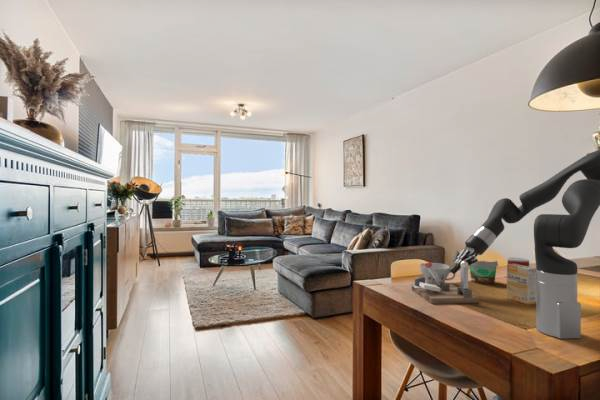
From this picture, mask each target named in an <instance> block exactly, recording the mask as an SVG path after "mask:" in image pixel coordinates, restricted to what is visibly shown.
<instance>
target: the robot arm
mask: <svg viewBox="0 0 600 400" xmlns="http://www.w3.org/2000/svg"><path fill="white" fill-rule="evenodd" d="M579 172H581V173H582V174H583V176H584V177H585V179H579V180H575V181H574V182H572V183H571V184H570V185H569V186H568V187H567V188H566V190H565V192H564V193H563V195H562V198H561V202H562V203H561V204H562V206H563V208H564V210H565V211H566V212H567V213H568V214H560V213H559V214H554V213H552V214H551V213H545V214H544V213H541V214H538V215H537V216H536V218H535V219H534V222H533V223H534V224H533V242H534V259H535V265H536V266H535V268H536V304H535V305H536V306H535V307H536V309H535V311H536V314H535V315H536V316H535V317H536V330H537V331H538V332H539V333H542V334H545V335H547V336H550V337H555V338H556V339H557V338H558V339H561V340H562V339H565V340H566V339H581V338H582V333H581V332H582V326H581V325H582V322H581V321H582V319H581V318H582V315H581V313H582V310H581V309H582V307H581V306H582V304H581V303H580V302H579V301H578V265H577V263H576V262H575V261H573V260H571V259H568V258H566V257H563V256H562V255H560V254H558V253H557V252H556V251H555V249H554V248H560V249H561V248H563V249H575V248H578V247H580V246H581V245H582V243H583V242H584V240H585V237H586V235H587V232H588V230H589V226H590V224H591V222H592V219H593V217H594V215H595V213H596V211H597V210H598V209H599V207H600V149H599V150H598V149H597V150H595V151H591V152H590V153H588V154H586V155H584V156H583V157H581V158H579V159H577V160H576V161H574V162H573V163H571V164H570V165H568V166H567V167H565V168H564V169H562V170H560V171H559V172H558V173H556V174H554V175H553V176H552V177H550V178H549V179H547V180H545V181H544V182H542V183H540V184H538V185H536V186H534V187H533V188H530V189H528V190H526V191H524V192H523V193H521V194H520V195H519V200H520V203H521V205H520V206H517V205H516V204H515V203H514V201H513V200H511V199H510V198H508V197H507V198H501V199H499V200H497V201H496V203H495V204H493V207H492V208H491V211H490V213H489V214H488V217H487V219H486V220H485V221H484V222H483V223H482V224H481V225H480V227H478V228H477V229H476V230H475V231H474V232H473V233H472V234H471V235H470V236H469V238H468V239H466V241H465V242H464V244H465V247H463V248H462V249H461V251H459V250H457V251H455V254H454V256H453V259H452V262H454V263H453V265H451V267H450V269H449V271H450V272H451V273H450V274H455V275H456V274H457V272H459V270H461V266H460V263H461V262H462V261H466V262H467V263H468V267H470V266H469V265H471V264H473V263H475V262H477V261H479V260H478V258H477V257H478V256H482V255H483V254H485V252H486V251H487V250H488V249H489V247H491V245H493V243H494V242H495V240H496V239H497V238H498V237H499V236H500V234H502V232H503V231H504V230H505V225H504V223H506V224H515V223H519V221H521V220H523V218H525V217H526V216H527V215H528V214H529V213H531V212H532V211H533V210H535V209H537V208H539V207H541V206H543V205H545V204H547V203H549V202H551V201H552V200H554V199H555V198H556V197H557V196H558V195H559V193H560V191H561V190H562V189H563V187H564V186H565V184H566V183H567V181H568V180H569V179H570V178H571V177H572V176H574V175H575V174H577V173H579ZM503 221H504V222H503Z"/></svg>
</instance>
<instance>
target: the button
mask: <svg viewBox="0 0 600 400" xmlns="http://www.w3.org/2000/svg"><path fill="white" fill-rule="evenodd" d="M420 282H422V283H426V280H425V277H423V276H414V284H415V285H417V286H419V284H420Z"/></svg>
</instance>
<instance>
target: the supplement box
mask: <svg viewBox="0 0 600 400" xmlns="http://www.w3.org/2000/svg"><path fill="white" fill-rule="evenodd" d="M506 264H507V265H506V299H507V300H511V301H513V302H514V301H515V302H518V303H522V304H524V305H527V306H529V305H536V267H533V266H530V265H529V266H524V265H519V264H508V263H506Z"/></svg>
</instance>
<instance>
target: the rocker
mask: <svg viewBox="0 0 600 400" xmlns="http://www.w3.org/2000/svg"><path fill="white" fill-rule="evenodd" d="M419 286H421V287H422V288H424V289H428V290H433V291H438V292H440V290H441V288H440V287H438V286H436V285H432V284H429V283H428V282H425V283H422V282H420V284H419Z"/></svg>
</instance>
